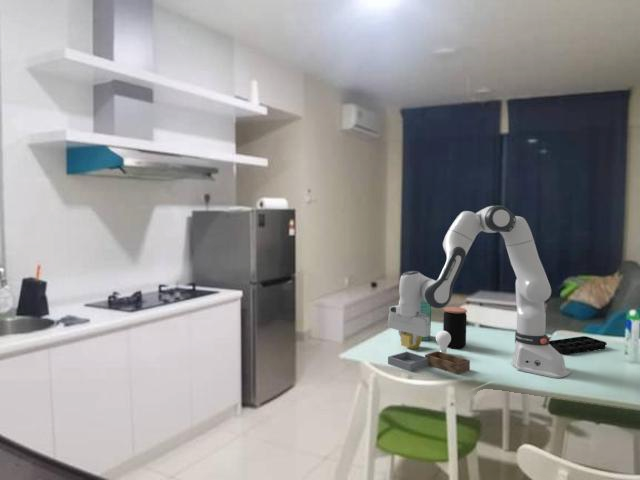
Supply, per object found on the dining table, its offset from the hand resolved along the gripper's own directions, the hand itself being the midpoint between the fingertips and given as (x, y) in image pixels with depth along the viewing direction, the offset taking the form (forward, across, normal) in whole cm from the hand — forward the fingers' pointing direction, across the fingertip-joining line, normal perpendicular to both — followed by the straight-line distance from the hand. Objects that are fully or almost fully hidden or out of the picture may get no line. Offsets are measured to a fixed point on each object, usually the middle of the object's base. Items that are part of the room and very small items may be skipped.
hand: (408, 342), depth 198 cm
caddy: (+10, -12, -10) cm, 19 cm away
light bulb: (+10, 0, -24) cm, 26 cm away
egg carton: (+10, -33, -82) cm, 89 cm away
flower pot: (+10, +16, -22) cm, 29 cm away
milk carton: (+10, +25, -39) cm, 47 cm away
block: (+1, 0, 0) cm, 1 cm away
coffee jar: (+10, +5, -40) cm, 42 cm away
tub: (+10, 0, 0) cm, 10 cm away
